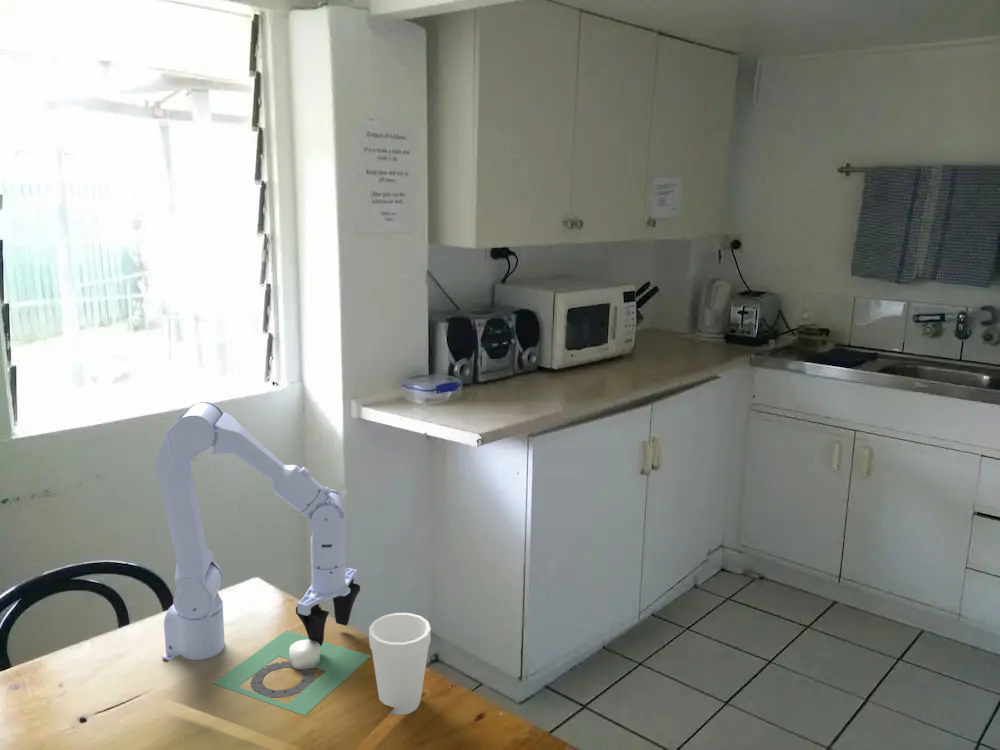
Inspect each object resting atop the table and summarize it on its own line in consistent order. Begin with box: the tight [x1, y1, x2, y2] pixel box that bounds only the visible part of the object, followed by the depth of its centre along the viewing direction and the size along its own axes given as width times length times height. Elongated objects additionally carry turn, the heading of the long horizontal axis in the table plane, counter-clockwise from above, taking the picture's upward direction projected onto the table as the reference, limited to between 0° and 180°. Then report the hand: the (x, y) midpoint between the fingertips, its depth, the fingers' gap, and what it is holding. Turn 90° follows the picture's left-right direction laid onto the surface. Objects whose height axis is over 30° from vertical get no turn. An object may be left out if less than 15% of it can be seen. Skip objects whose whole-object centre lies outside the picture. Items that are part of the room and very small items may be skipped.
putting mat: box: [212, 629, 372, 717], centre depth 132 cm, size 18×18×2 cm
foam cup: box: [368, 612, 432, 716], centre depth 125 cm, size 10×9×13 cm
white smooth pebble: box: [289, 639, 320, 670], centre depth 134 cm, size 5×5×2 cm
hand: (329, 633), depth 140 cm, fingers open, 7 cm apart
